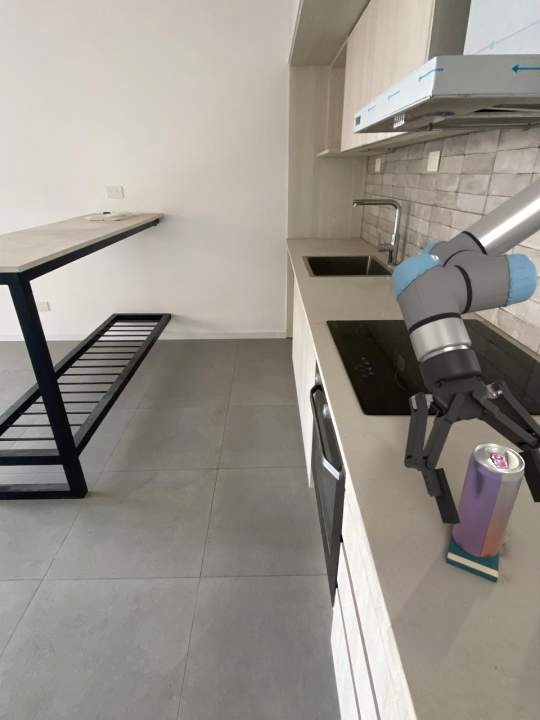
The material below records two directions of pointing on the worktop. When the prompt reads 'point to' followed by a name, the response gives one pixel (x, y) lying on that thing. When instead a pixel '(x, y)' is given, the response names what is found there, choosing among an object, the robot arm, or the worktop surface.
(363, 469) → the worktop surface
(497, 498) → the beverage can
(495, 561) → the teal hardcover book
